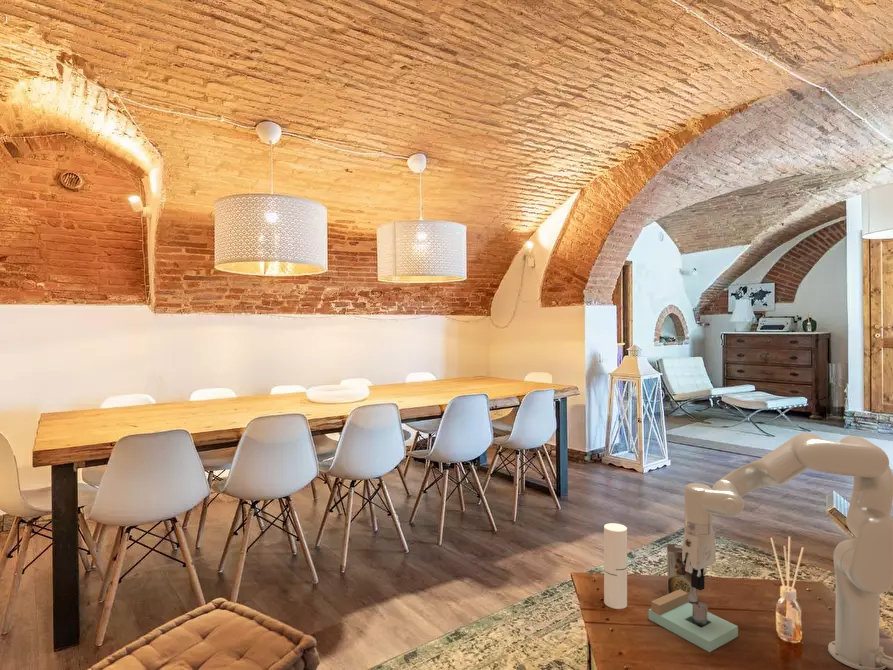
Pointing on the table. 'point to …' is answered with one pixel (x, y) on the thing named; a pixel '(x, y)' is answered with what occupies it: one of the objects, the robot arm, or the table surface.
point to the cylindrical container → (615, 565)
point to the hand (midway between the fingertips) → (697, 587)
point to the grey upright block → (699, 614)
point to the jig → (690, 622)
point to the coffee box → (678, 573)
